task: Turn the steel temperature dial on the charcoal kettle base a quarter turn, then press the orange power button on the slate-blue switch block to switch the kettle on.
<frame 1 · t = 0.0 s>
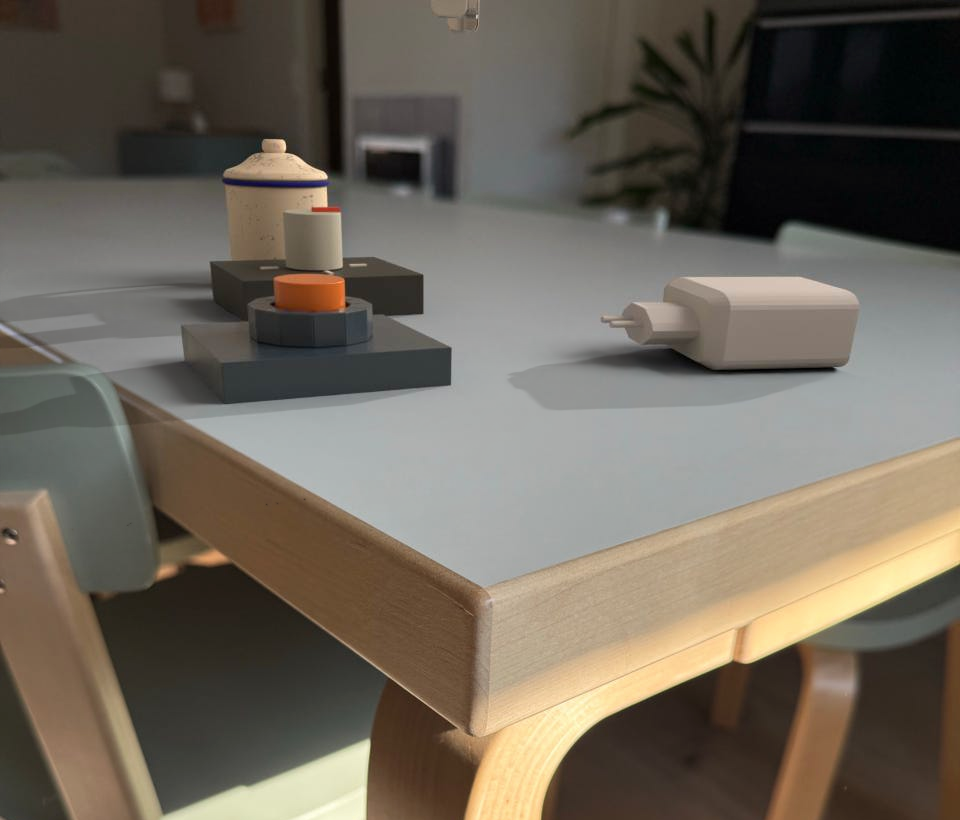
hand: (456, 25, 53), 18 cm above the table, tool pointing down, fingers open, 8 cm apart
charger: (708, 361, 66), on the table
power button: (309, 294, 56), point 4 cm above the table, slide at 0.1 cm
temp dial: (313, 237, 76), point 5 cm above the table, hinge at 0.0°
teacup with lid: (281, 283, 90), on the table
kettle base: (316, 307, 79), on the table
switch block: (313, 373, 58), on the table
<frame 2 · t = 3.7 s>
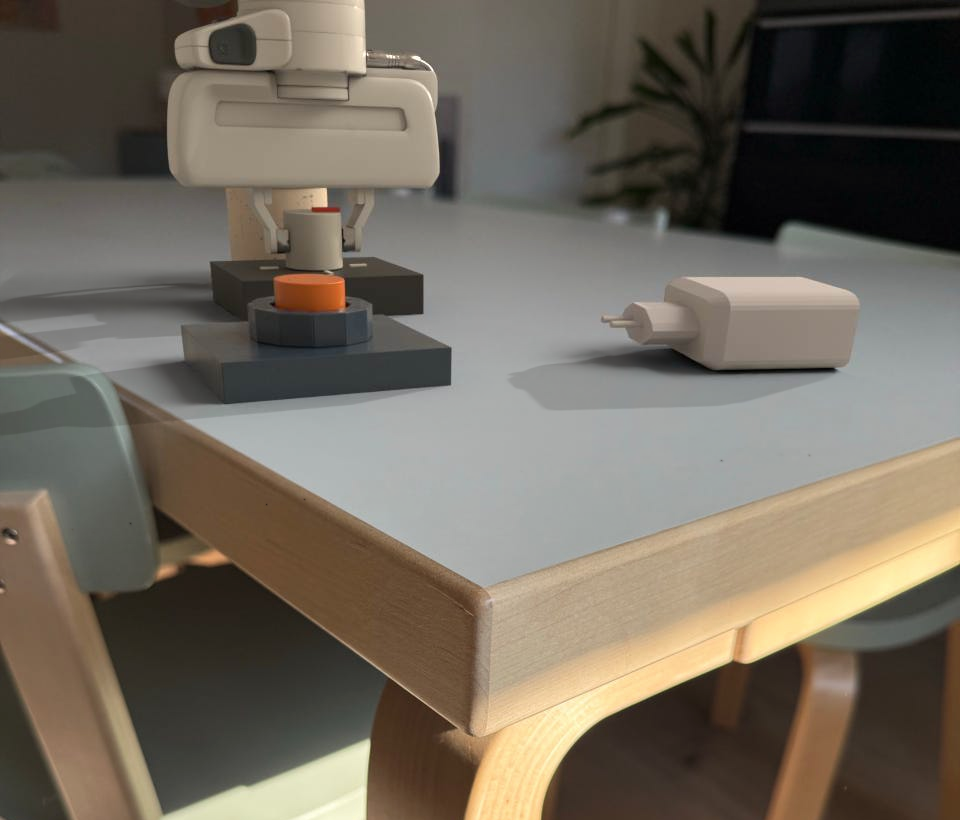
hand: (313, 252, 77), 4 cm above the table, tool pointing down, fingers closed on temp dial, 4 cm apart
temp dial: (313, 237, 76), point 5 cm above the table, hinge at -0.2°, touching gripper
everything else where it was.
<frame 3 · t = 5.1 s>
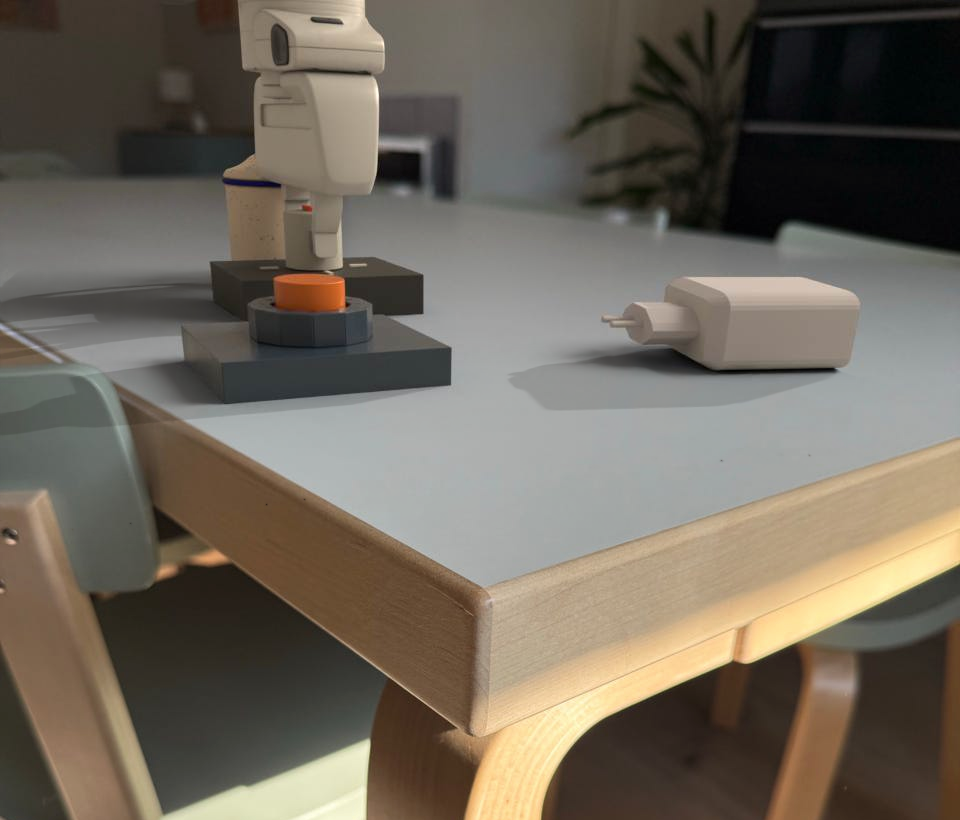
hand: (313, 252, 77), 4 cm above the table, tool pointing down, fingers closed on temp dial, 4 cm apart
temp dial: (313, 237, 76), point 5 cm above the table, hinge at 86.6°, touching gripper
everything else where it was.
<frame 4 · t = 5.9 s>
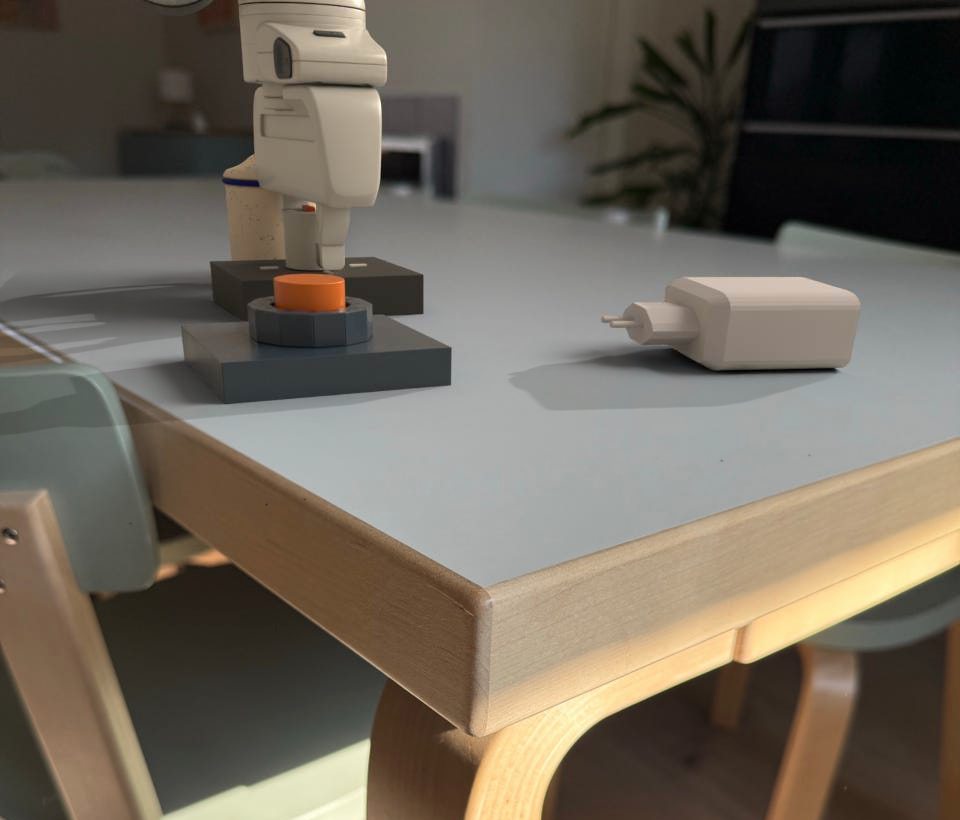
hand: (314, 262, 77), 3 cm above the table, tool pointing down, fingers open, 6 cm apart
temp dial: (313, 237, 76), point 5 cm above the table, hinge at 86.3°
everything else where it was.
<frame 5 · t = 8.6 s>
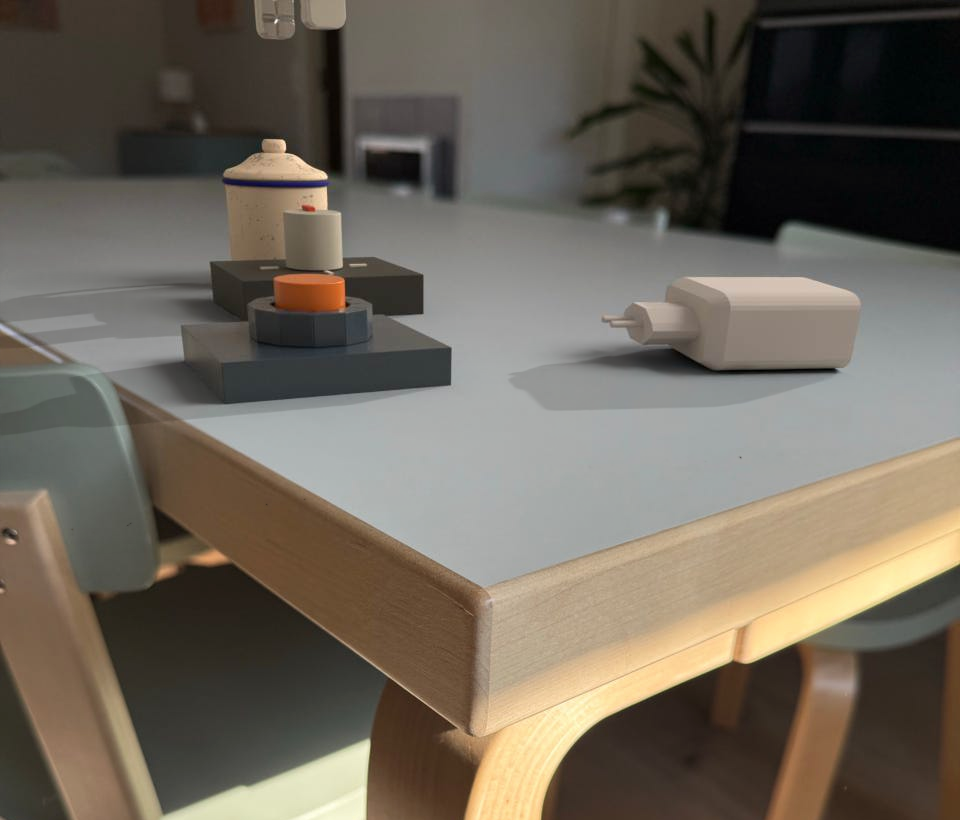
hand: (298, 34, 50), 17 cm above the table, tool pointing down, fingers open, 7 cm apart
nothing on the table moved.
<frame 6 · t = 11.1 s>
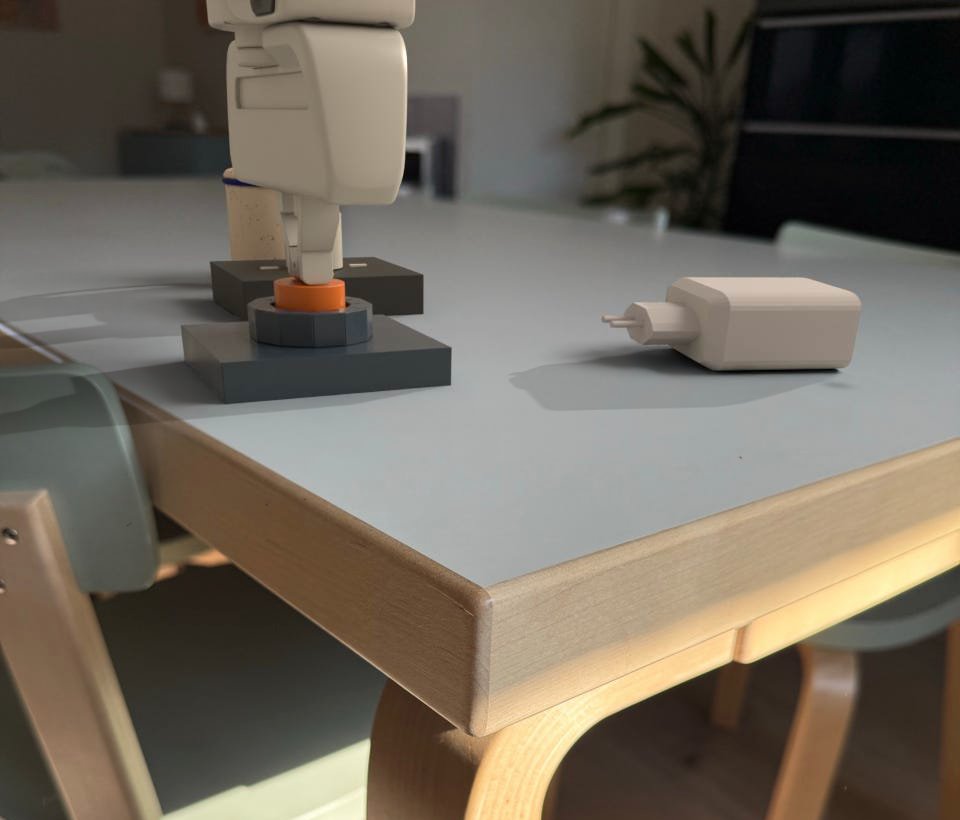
hand: (310, 281, 56), 5 cm above the table, tool pointing down, fingers closed, pressing on power button
power button: (310, 297, 56), point 4 cm above the table, slide at -0.1 cm, touching gripper
everything else where it was.
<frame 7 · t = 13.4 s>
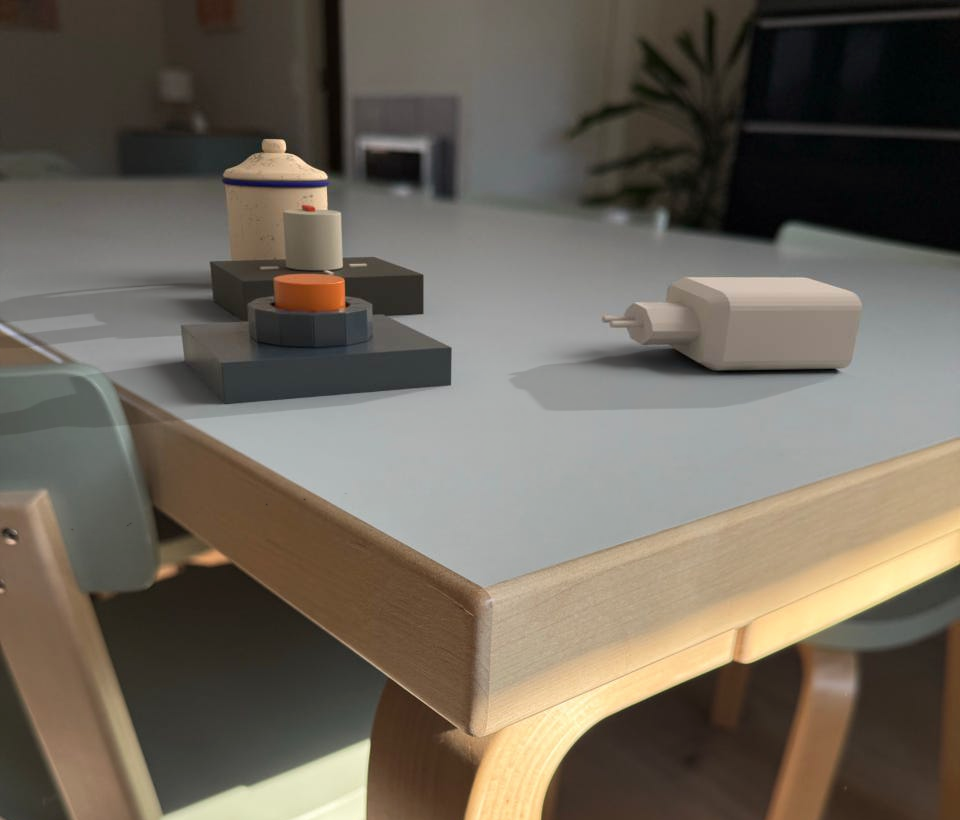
power button: (309, 294, 56), point 4 cm above the table, slide at 0.1 cm
everything else where it was.
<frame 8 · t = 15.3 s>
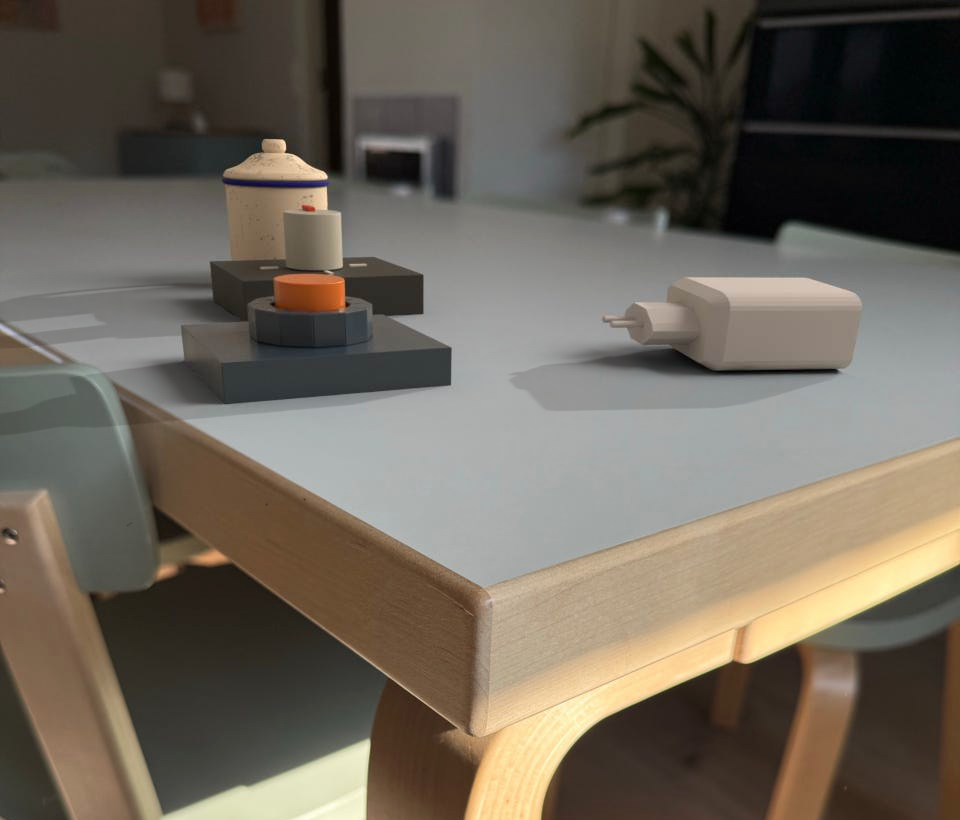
nothing on the table moved.
at the end: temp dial at +86° (first picture: +0°); power button pushed in 1.0 cm at the most during the clip, back to where it started at the end; power button slide at 0.1 cm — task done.
